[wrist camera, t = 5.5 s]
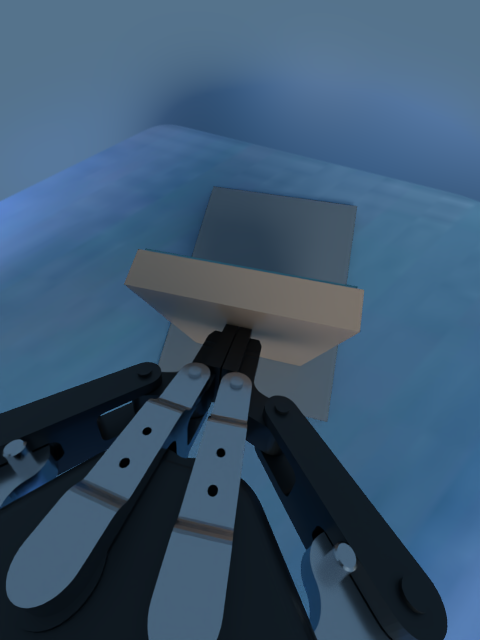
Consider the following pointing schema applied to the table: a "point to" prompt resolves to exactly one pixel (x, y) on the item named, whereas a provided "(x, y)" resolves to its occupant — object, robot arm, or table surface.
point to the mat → (278, 256)
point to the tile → (248, 303)
